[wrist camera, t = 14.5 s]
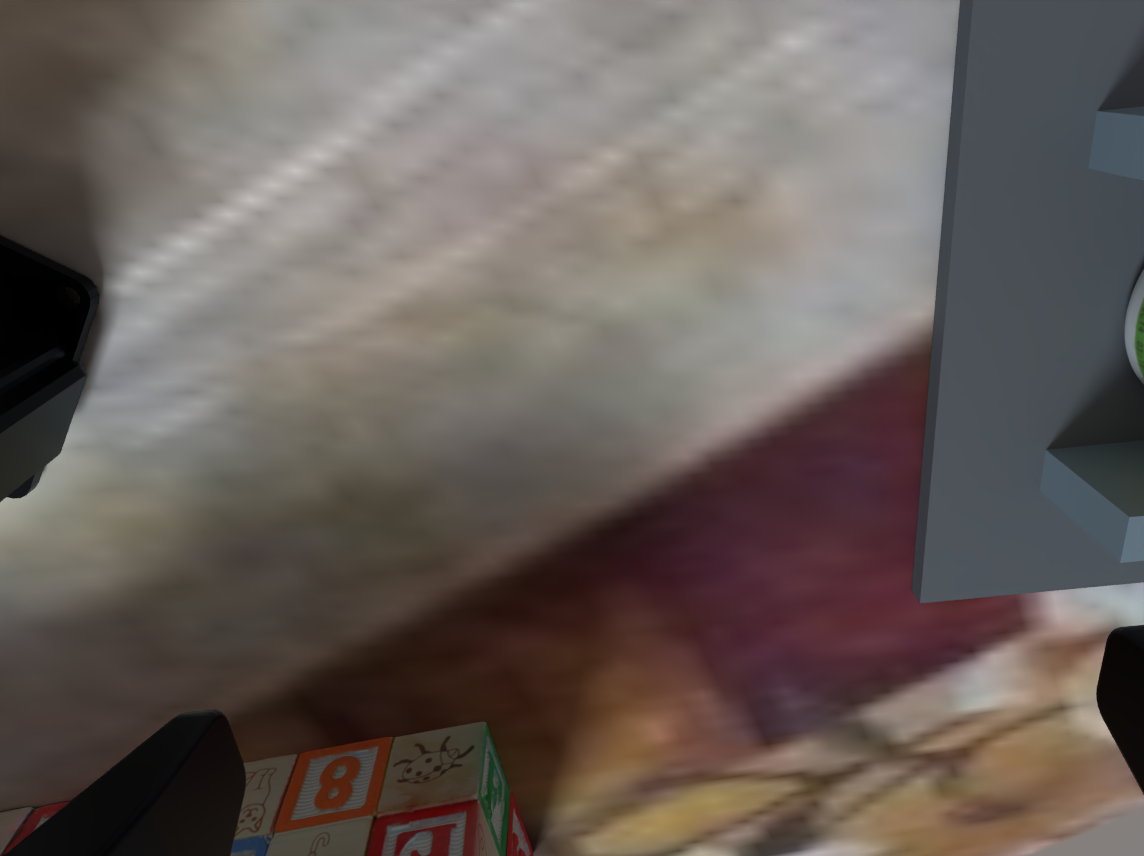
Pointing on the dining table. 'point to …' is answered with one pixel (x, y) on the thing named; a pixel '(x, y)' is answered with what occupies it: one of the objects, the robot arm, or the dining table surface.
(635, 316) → the dining table surface
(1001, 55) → the notch holder
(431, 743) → the stack of blocks
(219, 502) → the dining table surface
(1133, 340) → the supplement bottle
